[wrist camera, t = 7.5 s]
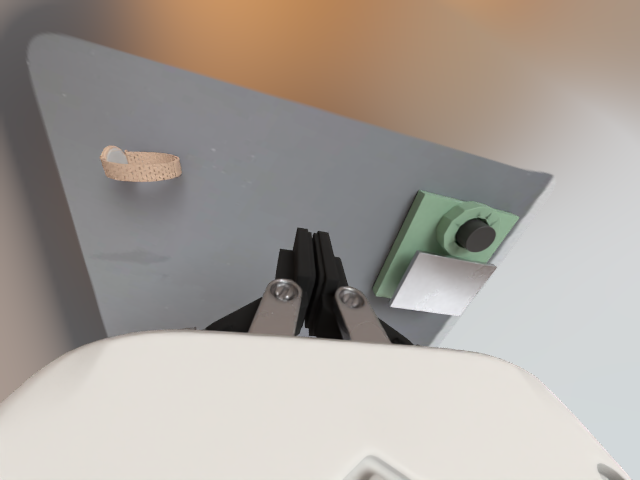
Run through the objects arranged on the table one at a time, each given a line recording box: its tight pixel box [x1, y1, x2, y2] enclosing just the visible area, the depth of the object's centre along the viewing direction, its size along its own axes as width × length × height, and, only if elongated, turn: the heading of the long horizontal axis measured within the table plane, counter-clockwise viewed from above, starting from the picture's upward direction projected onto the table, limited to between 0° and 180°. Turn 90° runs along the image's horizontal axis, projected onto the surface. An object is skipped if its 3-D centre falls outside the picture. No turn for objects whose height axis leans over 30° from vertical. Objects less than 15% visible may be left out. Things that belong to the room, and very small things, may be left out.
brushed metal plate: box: [388, 250, 497, 316], centre depth 27 cm, size 8×10×1 cm
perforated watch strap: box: [100, 146, 182, 182], centre depth 18 cm, size 3×5×5 cm, turn 83°
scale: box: [373, 190, 519, 298], centre depth 27 cm, size 14×12×3 cm
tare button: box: [456, 219, 496, 252], centre depth 23 cm, size 3×3×2 cm
